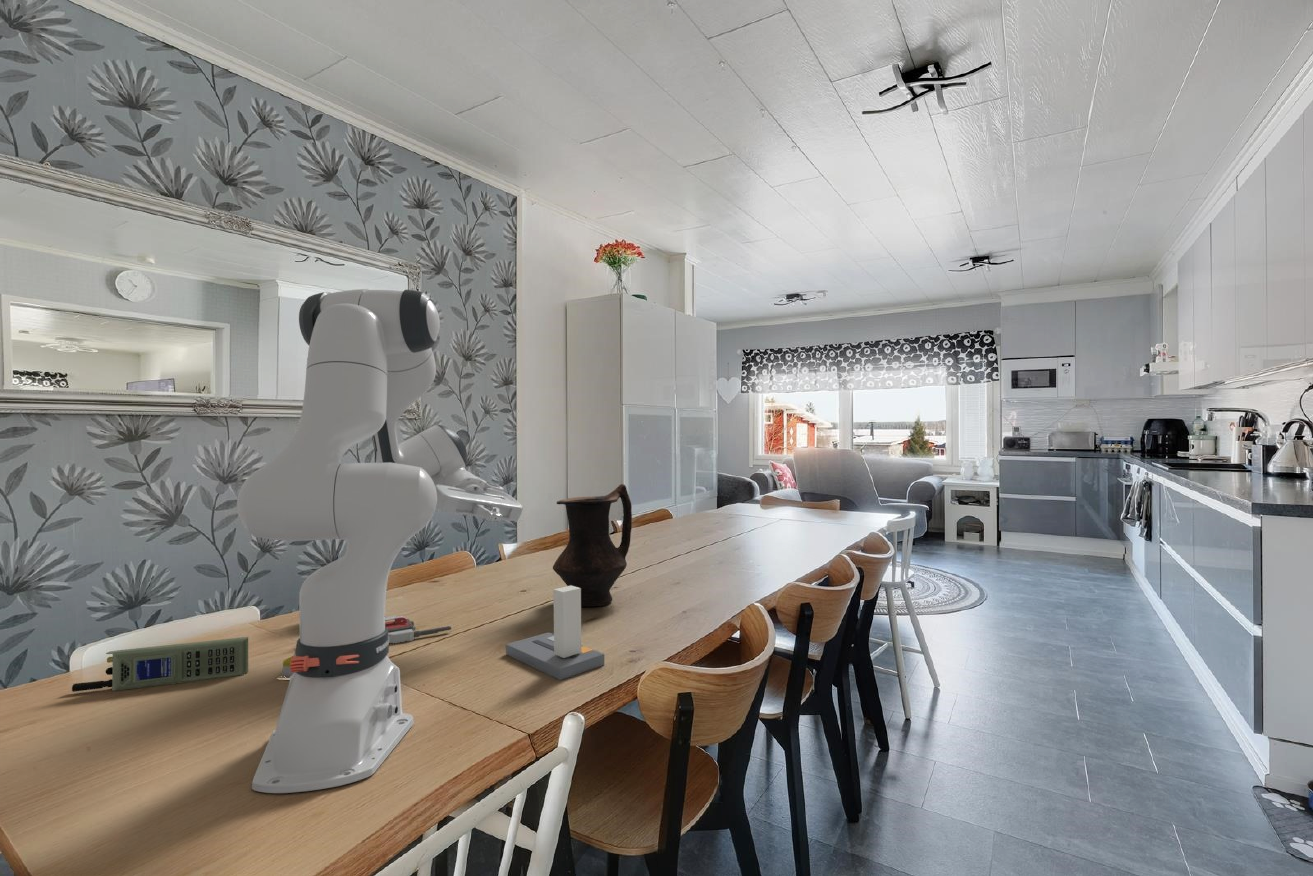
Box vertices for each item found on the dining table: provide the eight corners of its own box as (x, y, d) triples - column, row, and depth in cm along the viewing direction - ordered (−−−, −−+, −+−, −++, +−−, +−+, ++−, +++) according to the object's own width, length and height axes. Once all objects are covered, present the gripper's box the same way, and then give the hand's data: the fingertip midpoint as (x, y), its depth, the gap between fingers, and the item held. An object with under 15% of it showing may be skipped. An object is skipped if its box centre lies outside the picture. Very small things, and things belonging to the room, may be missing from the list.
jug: (568, 618, 143) (567, 490, 143) (543, 599, 159) (542, 484, 159) (648, 605, 153) (647, 486, 153) (616, 589, 169) (615, 481, 169)
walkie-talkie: (349, 653, 121) (452, 635, 132) (349, 631, 121) (452, 615, 132) (345, 641, 129) (443, 625, 139) (345, 620, 129) (443, 605, 139)
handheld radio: (244, 677, 109) (67, 699, 101) (249, 671, 113) (77, 692, 104) (244, 639, 110) (67, 658, 101) (249, 635, 113) (78, 652, 104)
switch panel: (506, 654, 119) (506, 643, 119) (548, 641, 126) (548, 631, 126) (560, 680, 106) (560, 668, 106) (604, 664, 113) (604, 653, 113)
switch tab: (554, 654, 113) (553, 589, 113) (571, 648, 116) (571, 585, 116) (563, 658, 111) (563, 592, 111) (581, 652, 114) (580, 588, 113)
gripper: (426, 472, 127) (457, 497, 118) (507, 487, 143) (539, 510, 133) (416, 500, 128) (445, 527, 119) (497, 512, 143) (528, 536, 134)
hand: (495, 518), depth 126 cm, fingers closed
